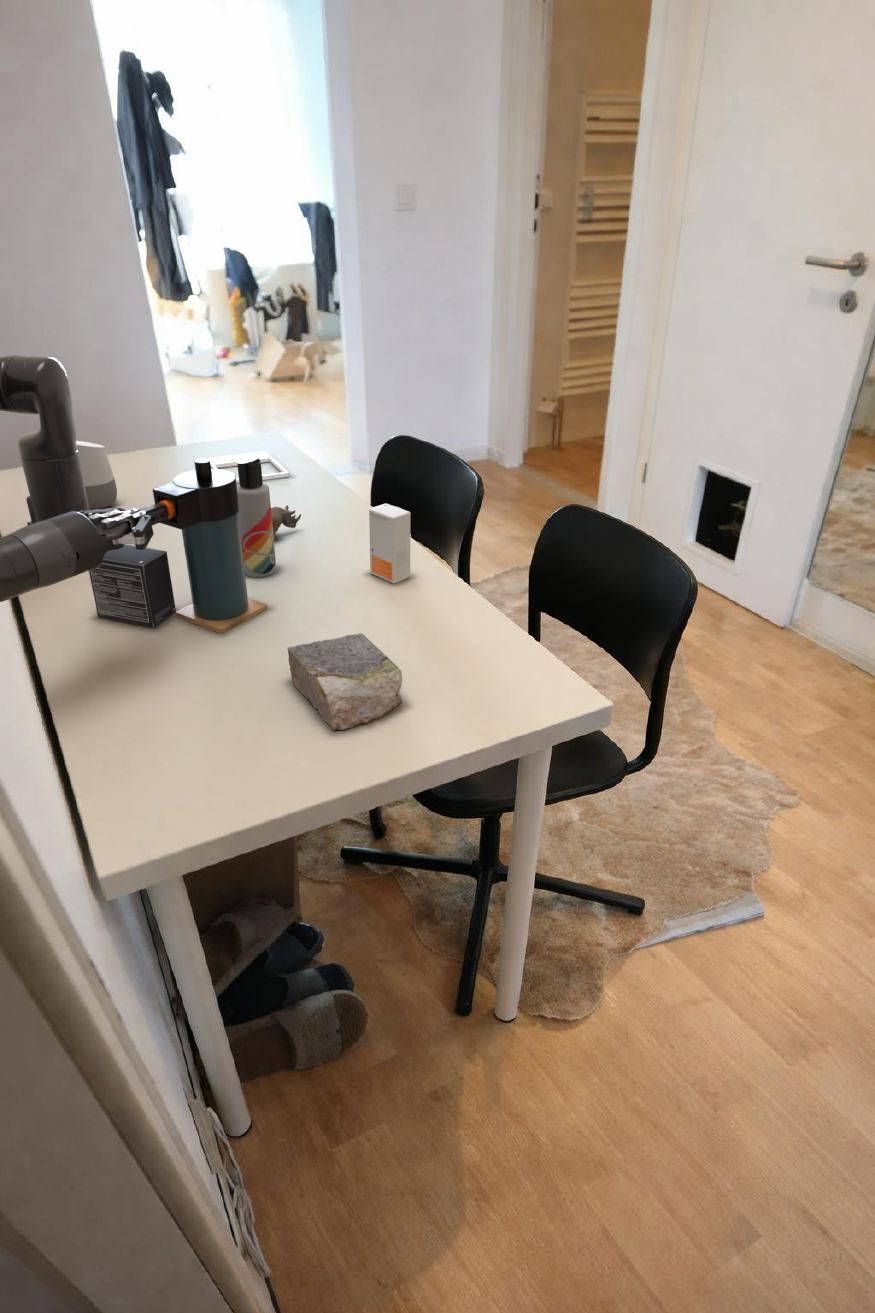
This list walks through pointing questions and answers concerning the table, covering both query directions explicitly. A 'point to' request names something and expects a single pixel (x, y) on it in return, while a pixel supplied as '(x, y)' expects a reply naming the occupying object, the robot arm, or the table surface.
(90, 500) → the smart speaker
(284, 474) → the photo frame
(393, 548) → the cosmetic box
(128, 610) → the small box
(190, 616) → the coaster
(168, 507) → the button
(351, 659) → the geological specimen
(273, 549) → the lotion bottle
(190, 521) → the drink bottle
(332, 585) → the table surface
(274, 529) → the rhino figurine
